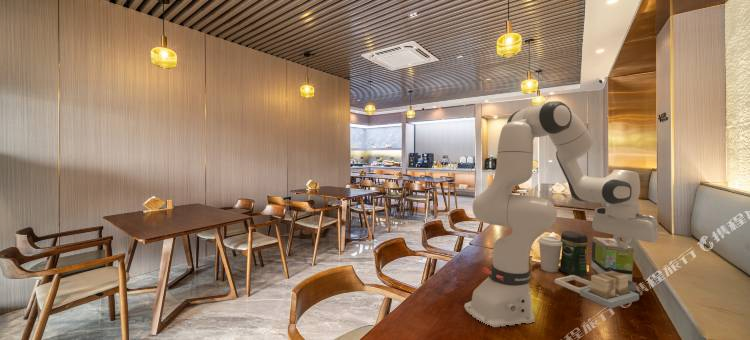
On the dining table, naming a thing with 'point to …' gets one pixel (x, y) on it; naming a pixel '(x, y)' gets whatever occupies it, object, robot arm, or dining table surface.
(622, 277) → the block
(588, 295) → the grey hollow frame
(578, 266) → the coffee jar
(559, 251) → the coffee cup
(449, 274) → the dining table surface
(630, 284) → the dark grey square housing
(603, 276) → the seated block
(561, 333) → the dining table surface
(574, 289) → the tray
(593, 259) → the tea box
